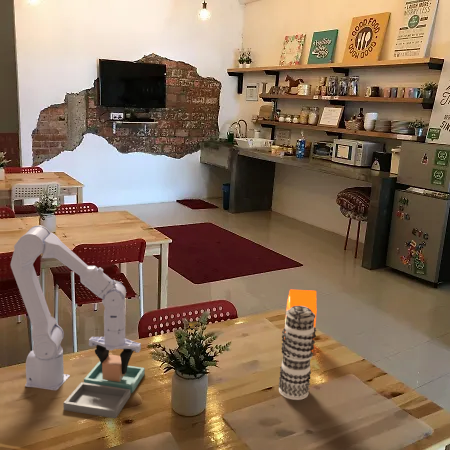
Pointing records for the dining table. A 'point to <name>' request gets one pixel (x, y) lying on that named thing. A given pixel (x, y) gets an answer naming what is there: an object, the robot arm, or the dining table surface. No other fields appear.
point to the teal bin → (127, 381)
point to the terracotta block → (112, 368)
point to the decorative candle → (297, 352)
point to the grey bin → (97, 400)
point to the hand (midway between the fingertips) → (114, 371)
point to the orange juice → (302, 300)
